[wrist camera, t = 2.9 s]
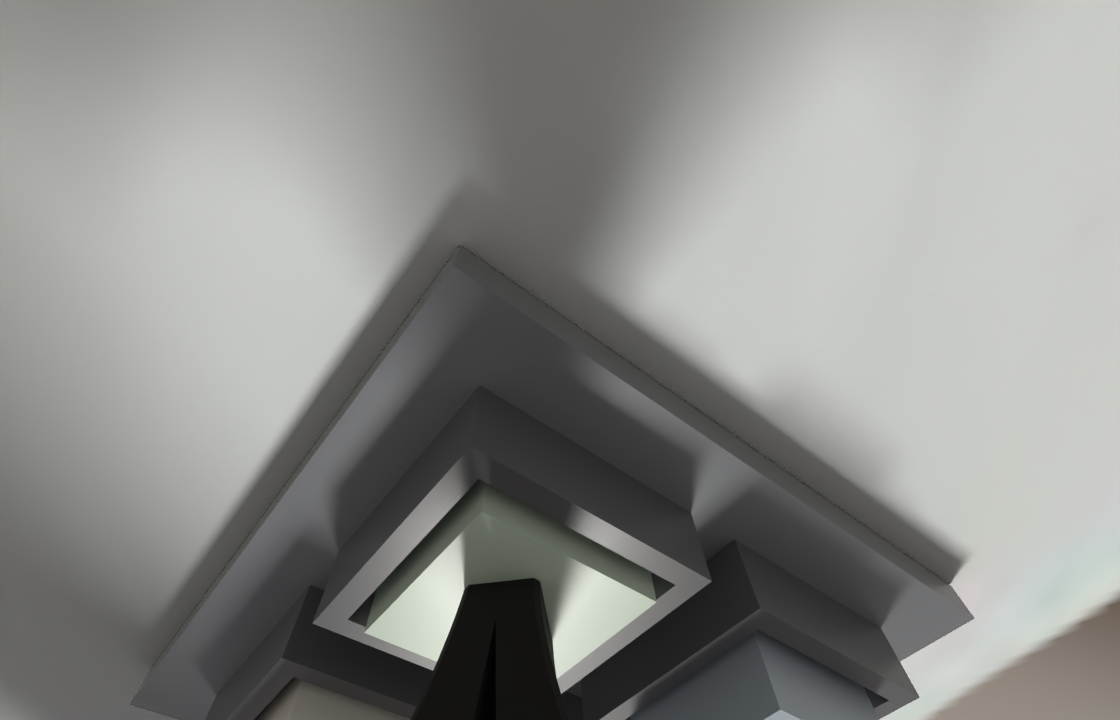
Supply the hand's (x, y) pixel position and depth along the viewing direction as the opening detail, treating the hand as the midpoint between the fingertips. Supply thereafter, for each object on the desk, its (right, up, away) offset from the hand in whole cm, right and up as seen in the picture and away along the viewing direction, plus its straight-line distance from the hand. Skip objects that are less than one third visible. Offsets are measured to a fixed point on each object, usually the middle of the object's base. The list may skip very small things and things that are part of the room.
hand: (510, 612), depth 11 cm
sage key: (0, +1, +2) cm, 2 cm away
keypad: (0, -3, +5) cm, 6 cm away
